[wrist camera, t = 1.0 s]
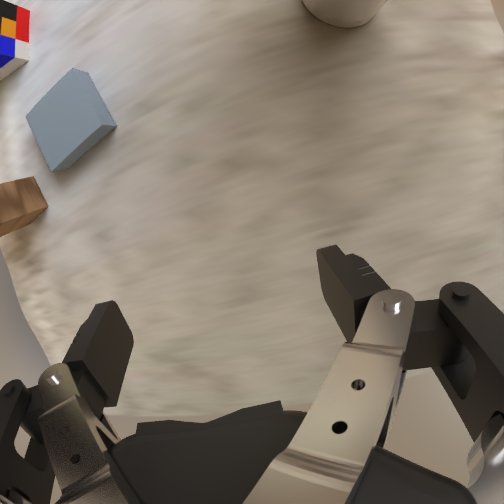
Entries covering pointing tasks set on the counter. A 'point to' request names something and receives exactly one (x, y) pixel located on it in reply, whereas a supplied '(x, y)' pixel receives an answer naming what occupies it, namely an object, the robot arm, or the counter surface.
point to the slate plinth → (69, 120)
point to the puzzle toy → (13, 37)
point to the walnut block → (20, 204)
